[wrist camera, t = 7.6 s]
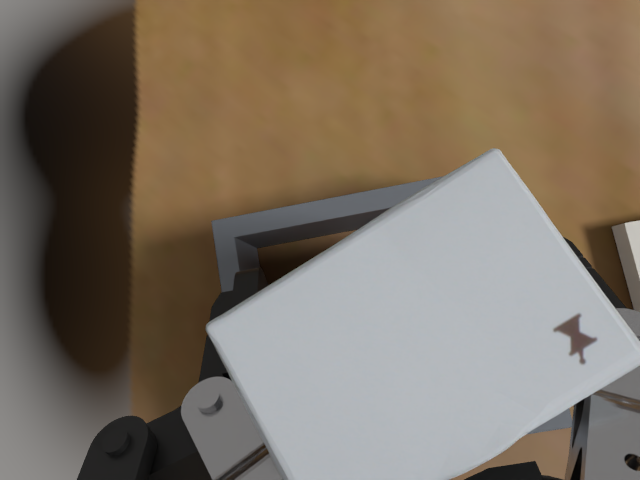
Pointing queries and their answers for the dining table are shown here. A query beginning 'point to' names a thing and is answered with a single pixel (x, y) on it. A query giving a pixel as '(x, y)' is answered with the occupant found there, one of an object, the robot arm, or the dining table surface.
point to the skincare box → (424, 336)
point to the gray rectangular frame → (308, 222)
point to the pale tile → (630, 257)
